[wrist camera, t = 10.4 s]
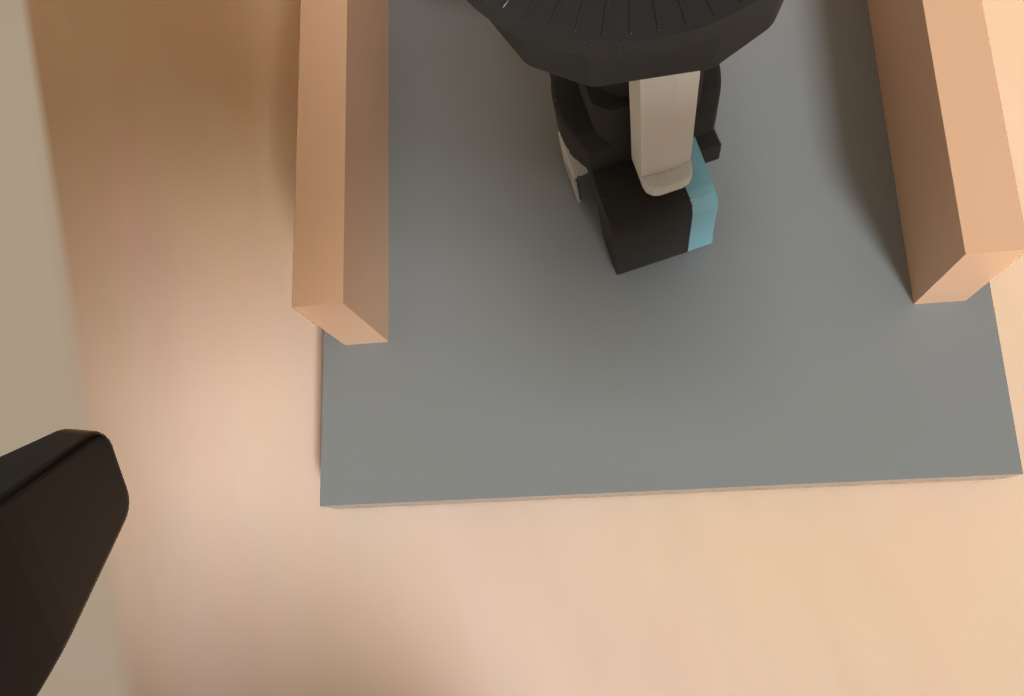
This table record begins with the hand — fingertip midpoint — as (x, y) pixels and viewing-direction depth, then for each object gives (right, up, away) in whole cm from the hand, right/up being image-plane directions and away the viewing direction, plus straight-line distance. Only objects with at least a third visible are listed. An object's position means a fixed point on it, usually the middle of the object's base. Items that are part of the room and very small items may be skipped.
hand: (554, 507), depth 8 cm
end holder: (+2, +6, +12) cm, 14 cm away
